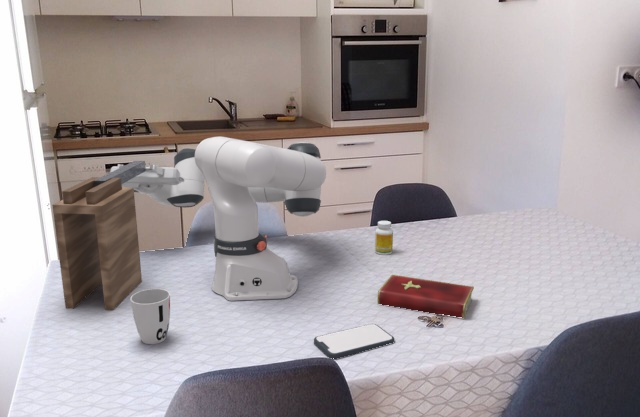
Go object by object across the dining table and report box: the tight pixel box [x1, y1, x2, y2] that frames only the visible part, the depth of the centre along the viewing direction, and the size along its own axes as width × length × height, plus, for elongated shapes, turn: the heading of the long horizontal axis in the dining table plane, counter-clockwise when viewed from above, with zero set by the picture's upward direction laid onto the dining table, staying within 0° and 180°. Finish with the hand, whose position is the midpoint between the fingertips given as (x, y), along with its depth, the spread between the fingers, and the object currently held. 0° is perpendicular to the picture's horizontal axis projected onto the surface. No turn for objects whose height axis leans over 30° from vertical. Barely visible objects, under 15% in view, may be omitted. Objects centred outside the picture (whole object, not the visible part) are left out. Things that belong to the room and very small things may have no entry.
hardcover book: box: [377, 274, 475, 318], centre depth 146 cm, size 12×21×4 cm, turn 67°
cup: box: [130, 288, 171, 345], centre depth 128 cm, size 8×8×10 cm
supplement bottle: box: [374, 220, 394, 256], centre depth 181 cm, size 5×5×10 cm
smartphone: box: [313, 323, 395, 360], centre depth 127 cm, size 9×2×16 cm
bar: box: [94, 160, 147, 187], centre depth 160 cm, size 3×26×3 cm, turn 174°
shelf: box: [52, 176, 143, 311], centre depth 148 cm, size 12×18×29 cm, turn 174°
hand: (135, 167), depth 169 cm, fingers open, 8 cm apart
